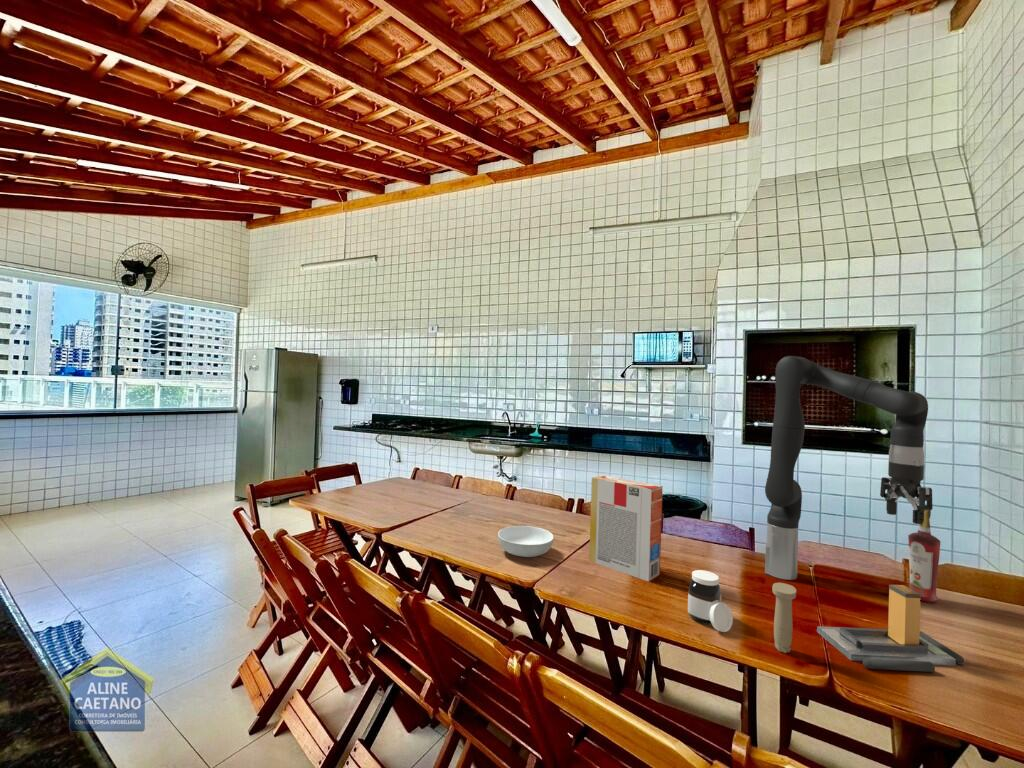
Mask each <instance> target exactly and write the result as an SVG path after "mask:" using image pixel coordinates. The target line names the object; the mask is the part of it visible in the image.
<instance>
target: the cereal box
mask: <svg viewBox="0 0 1024 768" xmlns="http://www.w3.org/2000/svg"><path fill="white" fill-rule="evenodd" d="M590 491H591V492H590V494H591V495H590V523H589V555H588V556H589V557H588V558H589V559H588V560H589V561H590V562H592V563H594V564H598V565H601V566H603V567H606V568H609V569H611V570H614V571H618V572H620V573H623V574H626V575H628V576H632V577H633V578H634V577H635V578H637V579H639V580H642V581H646V582H649V583H650V582H651V581H653V580H654V579H656V578H657V577H659V576H660V575H661V552H662V551H661V550H662V549H661V548H662V547H661V546H662V522H663V521H662V519H663V518H662V515H663V514H662V513H663V485H659V484H655V483H648V482H645V481H638V480H633V479H627V478H622V477H617V476H613V475H607V474H601V475H597V476H592V477H591V490H590Z"/></svg>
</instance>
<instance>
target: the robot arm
mask: <svg viewBox="0 0 1024 768" xmlns="http://www.w3.org/2000/svg"><path fill="white" fill-rule="evenodd" d="M802 384H805V385H811V386H815V387H821V388H823V389H826V390H829V391H831V392H833V393H834V392H835V393H836V394H838V395H840V396H843V397H844V398H845V397H846V398H848V399H850V400H853V401H856V402H860V403H863V404H866V405H869V406H873V407H876V408H879V409H881V410H882V411H886V412H887V413H890V414H893V415H896V417H895V423H894V424H893V426H892V427H891V429H890V441H889V442H890V445H889V450H888V466H887V467H888V468H887V469H888V472H887V475H888V476H889V477H883V476H882V477H881V480H880V490H879V491H880V493H879V494H880V495H879V496H880V498H884V500H885V502H886V507H885V508H886V513H887V515H892V516H896V515H897V511H898V510H897V507H898V506H897V505H898V503H897V501H898V499H899V498H901V497H902V498H903V499H906V501H907V502H908V503H910V504H911V506H912V508H913V509H912V523H913V524H915V525H919V524H923V522H924V511H925V510H931V511H932V510H933V489H932V487H925V486H924V487H923V486H922V485H921V482H922V481H923V480H924V478H925V450H924V449H925V448H924V446H925V445H924V444H925V443H924V442H925V441H924V440H925V436H924V435H925V434H924V433H925V432H924V430H925V427H926V423H927V420H928V419H927V418H928V413H929V404H928V403H929V402H928V399H927V398H926V397H925V395H923V394H922V393H919V392H915V391H906V390H903V389H898V388H895V387H891V386H886V384H883V383H881V382H878V381H876V380H870V379H867V378H863V377H860V376H857V375H852V374H848V373H844V372H839V371H836V370H833V369H830V368H827V367H826V366H825V367H824V366H822V365H820V364H818V363H816V362H814V361H811V360H810V359H809V358H808V359H807V358H805V357H802V356H796V355H787V356H784V357H782V358H781V359H780V360H779V361H778V362H777V363H776V366H775V403H774V414H773V422H772V431H771V444H770V459H769V460H770V461H769V468H768V474H767V479H766V482H765V487H764V493H765V496H766V499H767V500H768V502H769V503H770V504H771V506H770V509H769V511H768V513H767V518H766V519H767V520H766V545H765V553H764V554H765V557H764V559H765V560H764V562H765V563H764V574H766V575H769V576H771V577H774V578H777V579H780V580H788V581H793V580H797V578H798V557H799V556H798V555H799V554H798V553H799V552H798V551H799V523H800V520H801V515H802V500H803V491H802V487H801V486H800V484H799V482H797V480H795V479H794V477H795V475H794V474H795V468H796V467H795V466H796V464H797V461H798V458H799V456H800V454H801V453H800V452H801V450H802V447H803V444H804V440H805V439H804V437H805V427H806V422H805V416H804V413H803V410H802V406H801V402H800V392H801V385H802ZM886 490H887V491H886Z"/></svg>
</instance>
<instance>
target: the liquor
mask: <svg viewBox="0 0 1024 768" xmlns="http://www.w3.org/2000/svg"><path fill="white" fill-rule="evenodd" d="M931 513H932V510H925V511H924V522H923V524H918V528H917V532H912V533H910V534H908V535H907V537H908V538H907V539H908V562H909V588H910V589H912V590H914V591H916V592H918V593H920V594H921V599H920V600H921V601H920V602H923V601H925V603H928V602H931V603H934V602H935V601H937V600H938V599H939V598H938V596H937V587H938V586H937V584H938V583H937V581H938V572H939V571H938V570H939V565H940V564H939V563H940V552H941V540H940V539H939V538H938V537H936V536H934V535H933V534H932V532H931V522H930V519H931V516H932V514H931Z"/></svg>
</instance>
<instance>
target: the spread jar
mask: <svg viewBox="0 0 1024 768" xmlns="http://www.w3.org/2000/svg"><path fill="white" fill-rule="evenodd" d="M687 594H688V595H687V613H688V616H690V617H691V618H692V619H693V620H695V621H697V622H699V623H702V624H706V625H712V627H713V628H714V629H715V630H716V631H718V632H722V633H727V632H729V630H731V628H732V626H733V612H732V610H731V608H730V607H729V606H728V604H726V603H724V602H722V588H721V585H720V577H719V576H718V574H715V573H714V572H712V571H708V570H703V569H697V570H696V569H695V570H694V571H692V572H691V580H690V583H689V586H688V593H687Z"/></svg>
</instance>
